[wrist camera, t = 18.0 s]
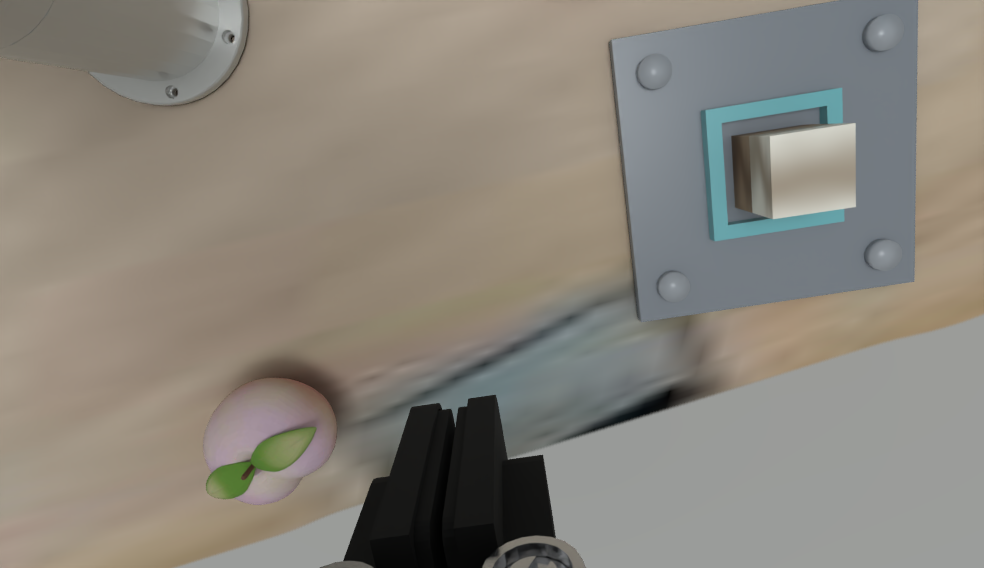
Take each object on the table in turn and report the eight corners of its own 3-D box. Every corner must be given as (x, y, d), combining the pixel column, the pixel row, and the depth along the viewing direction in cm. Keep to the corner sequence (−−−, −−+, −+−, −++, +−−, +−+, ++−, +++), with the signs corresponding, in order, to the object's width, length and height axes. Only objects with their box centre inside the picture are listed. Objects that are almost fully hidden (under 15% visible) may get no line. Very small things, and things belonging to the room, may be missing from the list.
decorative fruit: (294, 331, 46) (240, 385, 36) (369, 404, 47) (336, 473, 38) (215, 406, 47) (142, 476, 38) (290, 474, 49) (238, 558, 39)
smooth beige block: (731, 135, 41) (769, 136, 35) (804, 124, 41) (855, 122, 35) (735, 207, 42) (772, 219, 36) (806, 196, 42) (855, 207, 36)
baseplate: (608, 42, 40) (614, 37, 38) (907, -10, 39) (928, -18, 38) (638, 318, 45) (644, 326, 43) (905, 278, 44) (923, 284, 42)
